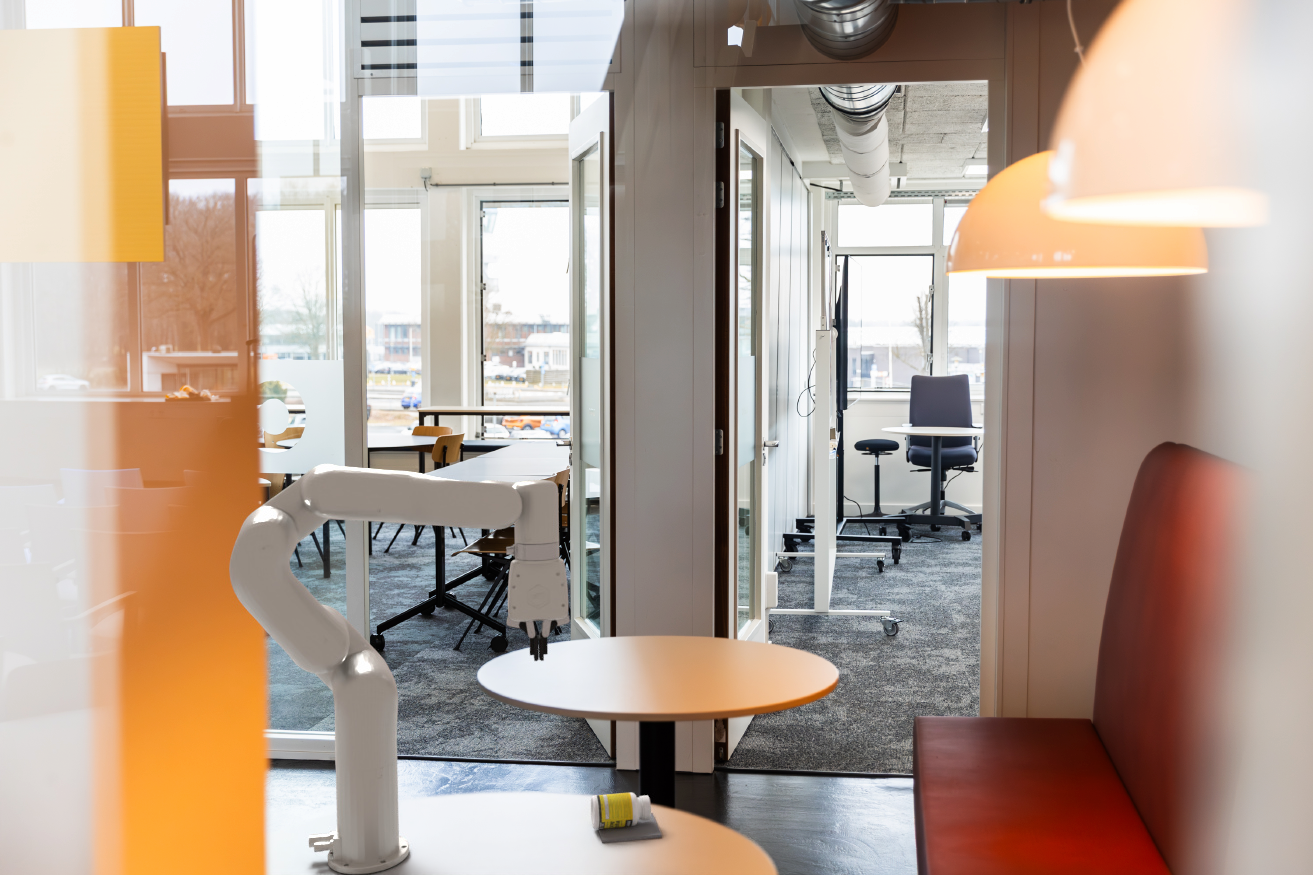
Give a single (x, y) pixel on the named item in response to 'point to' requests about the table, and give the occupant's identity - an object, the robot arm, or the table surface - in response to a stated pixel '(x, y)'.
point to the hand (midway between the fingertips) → (538, 658)
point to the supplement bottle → (619, 810)
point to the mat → (632, 831)
